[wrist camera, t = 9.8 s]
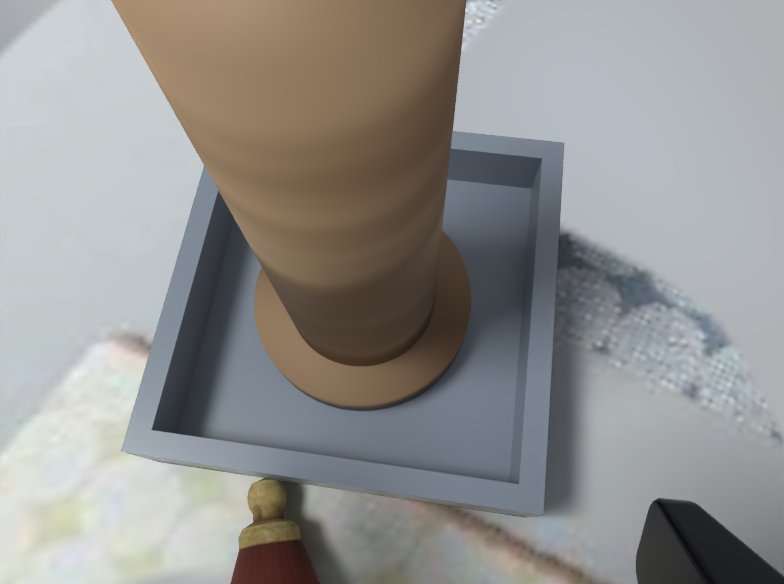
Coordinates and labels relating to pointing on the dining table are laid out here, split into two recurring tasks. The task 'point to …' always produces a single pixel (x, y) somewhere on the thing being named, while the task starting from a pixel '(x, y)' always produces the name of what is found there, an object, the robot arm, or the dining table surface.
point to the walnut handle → (329, 175)
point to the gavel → (271, 541)
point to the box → (386, 426)
